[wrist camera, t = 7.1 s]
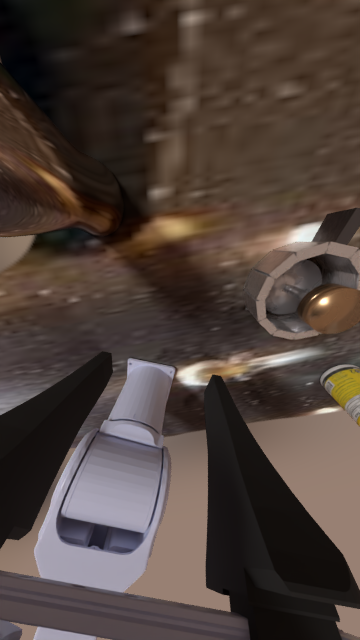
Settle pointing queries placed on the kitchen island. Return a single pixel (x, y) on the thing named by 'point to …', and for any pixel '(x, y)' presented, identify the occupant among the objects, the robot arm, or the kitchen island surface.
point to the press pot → (326, 247)
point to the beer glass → (48, 174)
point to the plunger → (314, 299)
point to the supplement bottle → (344, 388)
